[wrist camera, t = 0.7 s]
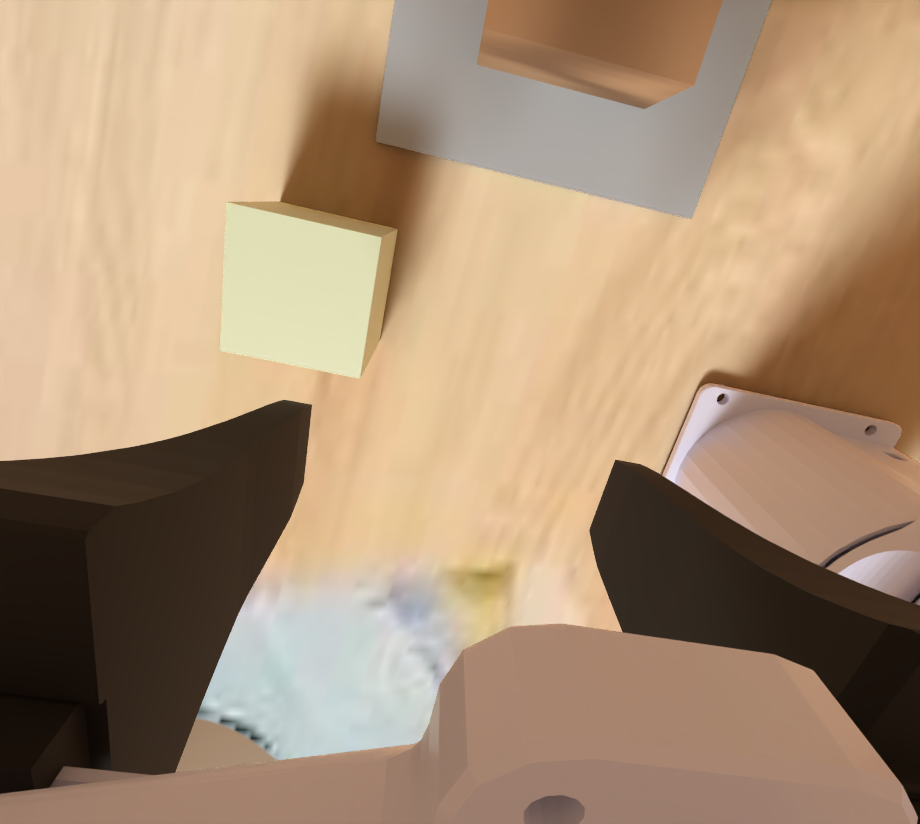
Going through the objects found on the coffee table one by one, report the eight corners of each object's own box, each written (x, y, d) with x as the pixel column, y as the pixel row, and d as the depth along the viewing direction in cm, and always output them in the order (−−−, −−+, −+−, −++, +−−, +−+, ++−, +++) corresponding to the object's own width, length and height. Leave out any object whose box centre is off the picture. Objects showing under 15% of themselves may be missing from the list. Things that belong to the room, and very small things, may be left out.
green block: (398, 228, 20) (381, 237, 15) (379, 340, 21) (360, 378, 17) (280, 201, 19) (226, 202, 15) (271, 317, 21) (219, 350, 16)
